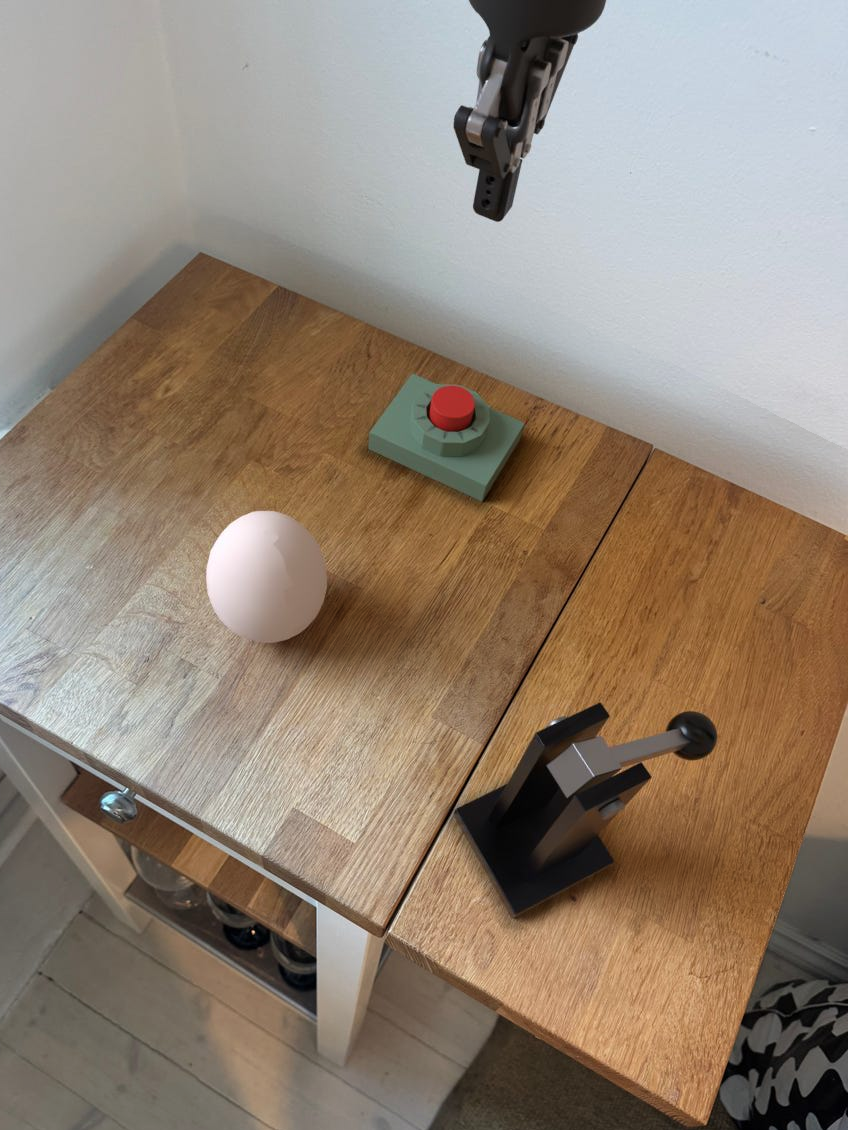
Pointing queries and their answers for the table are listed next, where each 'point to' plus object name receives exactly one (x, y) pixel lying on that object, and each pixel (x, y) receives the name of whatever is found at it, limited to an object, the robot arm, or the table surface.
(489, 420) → the button box
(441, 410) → the button
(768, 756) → the table surface
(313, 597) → the egg
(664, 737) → the lever
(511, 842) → the bracket
